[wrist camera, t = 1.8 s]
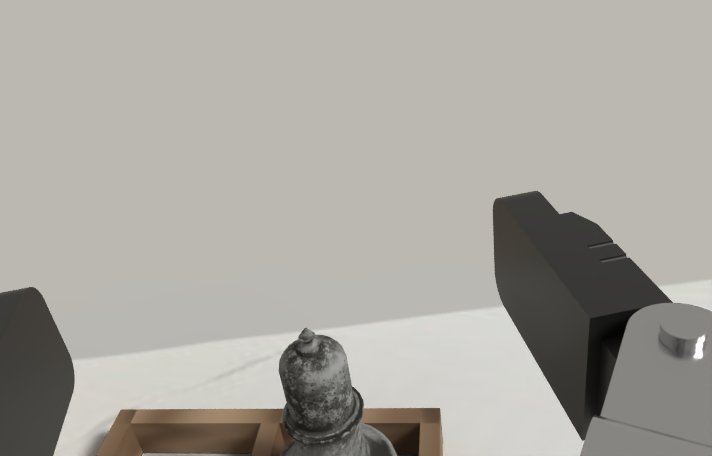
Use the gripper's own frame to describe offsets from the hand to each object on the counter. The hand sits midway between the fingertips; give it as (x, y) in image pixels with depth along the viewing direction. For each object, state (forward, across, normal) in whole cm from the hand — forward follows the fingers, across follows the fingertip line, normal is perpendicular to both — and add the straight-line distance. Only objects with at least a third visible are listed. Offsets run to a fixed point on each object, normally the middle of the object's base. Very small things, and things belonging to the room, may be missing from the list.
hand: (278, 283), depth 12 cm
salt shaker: (+11, 0, +22) cm, 25 cm away
